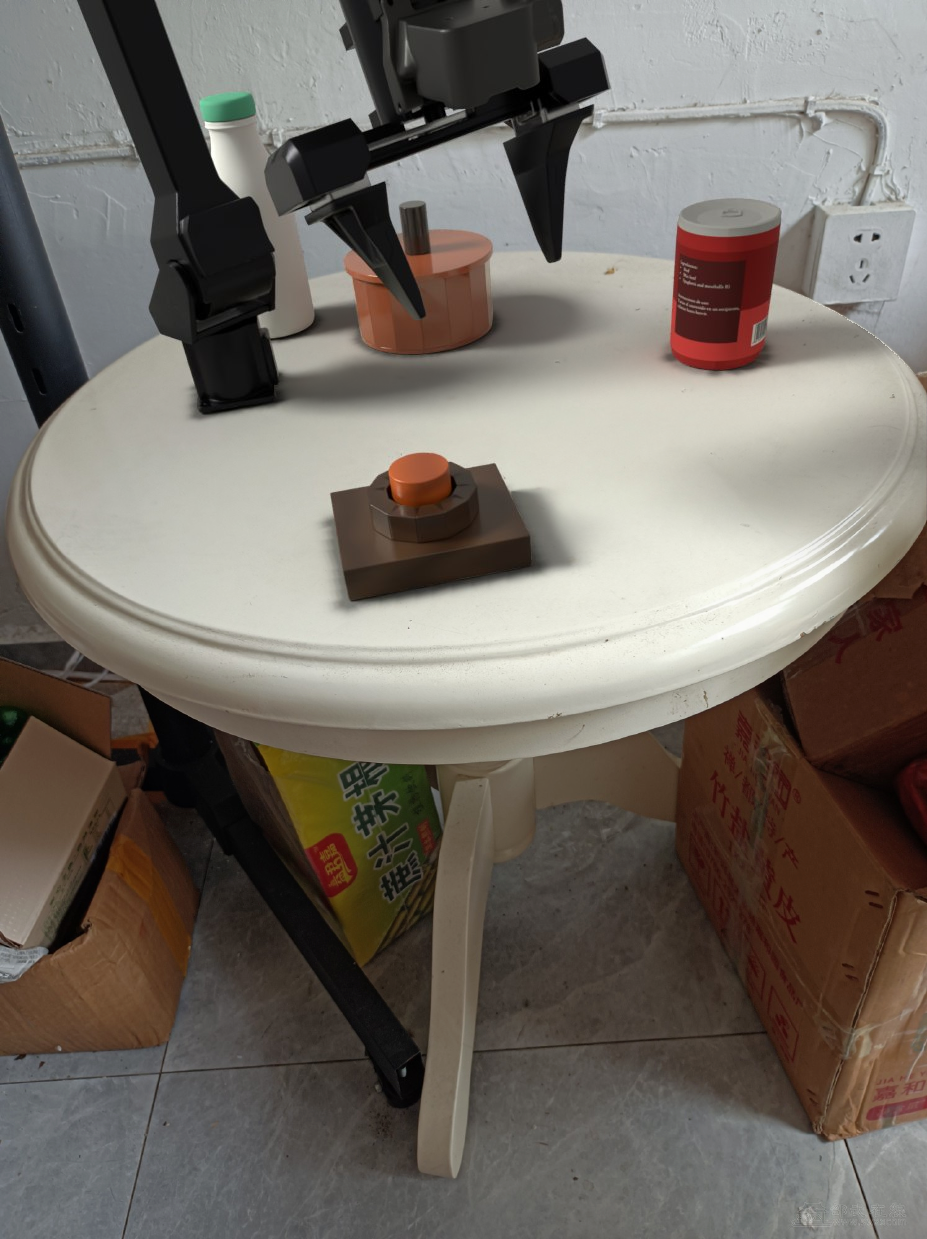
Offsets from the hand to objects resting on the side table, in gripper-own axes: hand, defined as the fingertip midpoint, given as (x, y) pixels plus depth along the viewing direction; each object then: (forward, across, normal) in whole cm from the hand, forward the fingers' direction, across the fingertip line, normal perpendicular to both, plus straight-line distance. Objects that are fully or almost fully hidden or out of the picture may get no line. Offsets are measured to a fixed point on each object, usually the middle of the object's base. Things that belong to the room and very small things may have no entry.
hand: (489, 289), depth 49 cm
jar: (+4, +9, +33) cm, 34 cm away
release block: (+13, -8, +2) cm, 15 cm away
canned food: (+13, +24, +12) cm, 30 cm away
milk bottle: (0, -2, +43) cm, 43 cm away
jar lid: (-2, +10, +31) cm, 32 cm away
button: (+9, -8, +1) cm, 12 cm away
